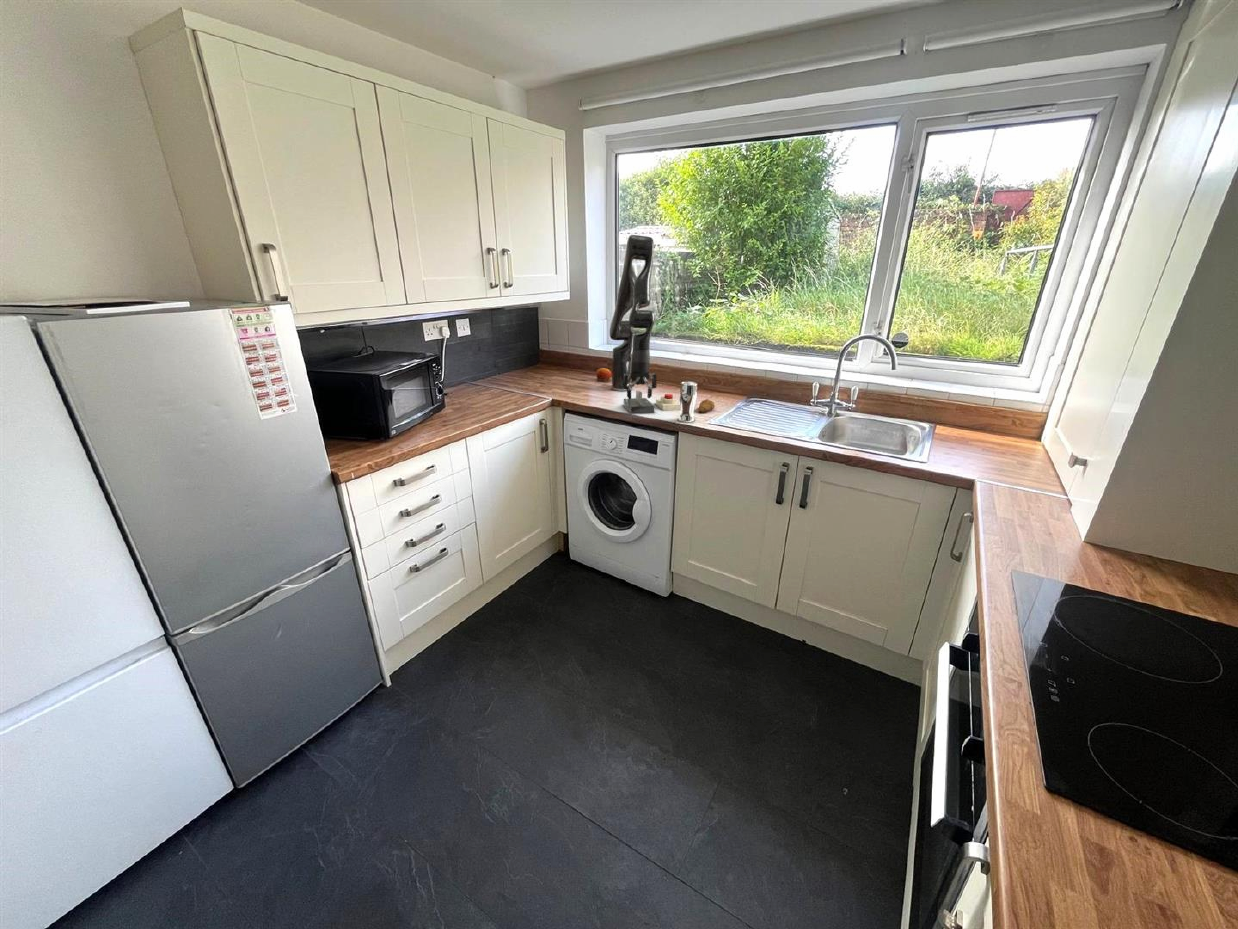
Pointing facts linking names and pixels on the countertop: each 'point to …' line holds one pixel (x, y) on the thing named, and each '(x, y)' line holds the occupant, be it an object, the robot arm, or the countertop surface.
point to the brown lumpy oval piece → (706, 406)
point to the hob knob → (639, 396)
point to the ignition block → (668, 404)
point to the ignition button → (668, 396)
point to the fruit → (603, 374)
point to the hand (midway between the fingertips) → (639, 398)
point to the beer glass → (687, 401)
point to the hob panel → (638, 406)
